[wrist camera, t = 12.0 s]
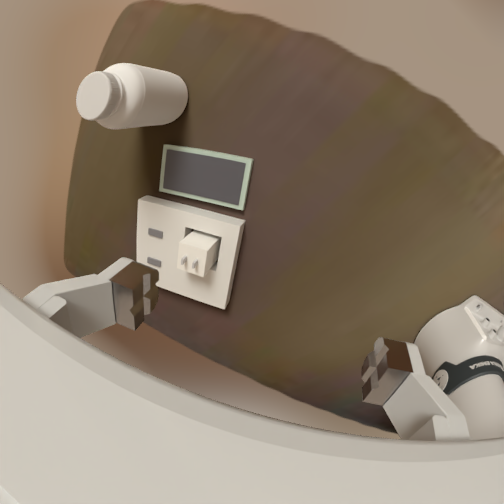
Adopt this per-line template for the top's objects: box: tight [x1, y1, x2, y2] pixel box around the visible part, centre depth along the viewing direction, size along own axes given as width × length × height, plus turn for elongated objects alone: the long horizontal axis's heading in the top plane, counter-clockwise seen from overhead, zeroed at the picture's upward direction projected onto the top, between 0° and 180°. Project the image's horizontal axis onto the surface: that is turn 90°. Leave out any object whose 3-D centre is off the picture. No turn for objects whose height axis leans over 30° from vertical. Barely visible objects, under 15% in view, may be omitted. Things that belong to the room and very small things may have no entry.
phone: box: [159, 144, 254, 210], centre depth 38 cm, size 13×7×2 cm, turn 79°
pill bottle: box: [76, 63, 188, 129], centre depth 28 cm, size 8×8×15 cm
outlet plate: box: [137, 195, 245, 310], centre depth 43 cm, size 16×14×3 cm
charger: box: [177, 230, 222, 277], centre depth 40 cm, size 4×4×7 cm
